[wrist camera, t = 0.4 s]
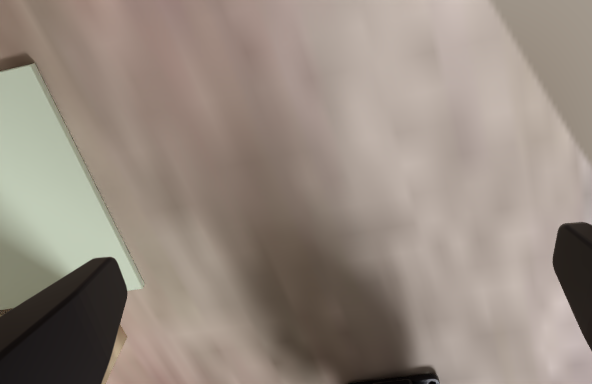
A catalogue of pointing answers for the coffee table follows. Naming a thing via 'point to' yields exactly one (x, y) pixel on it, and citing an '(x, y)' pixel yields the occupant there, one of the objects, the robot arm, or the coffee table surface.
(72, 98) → the coffee table surface
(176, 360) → the coffee table surface
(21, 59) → the coffee table surface
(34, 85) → the mat
